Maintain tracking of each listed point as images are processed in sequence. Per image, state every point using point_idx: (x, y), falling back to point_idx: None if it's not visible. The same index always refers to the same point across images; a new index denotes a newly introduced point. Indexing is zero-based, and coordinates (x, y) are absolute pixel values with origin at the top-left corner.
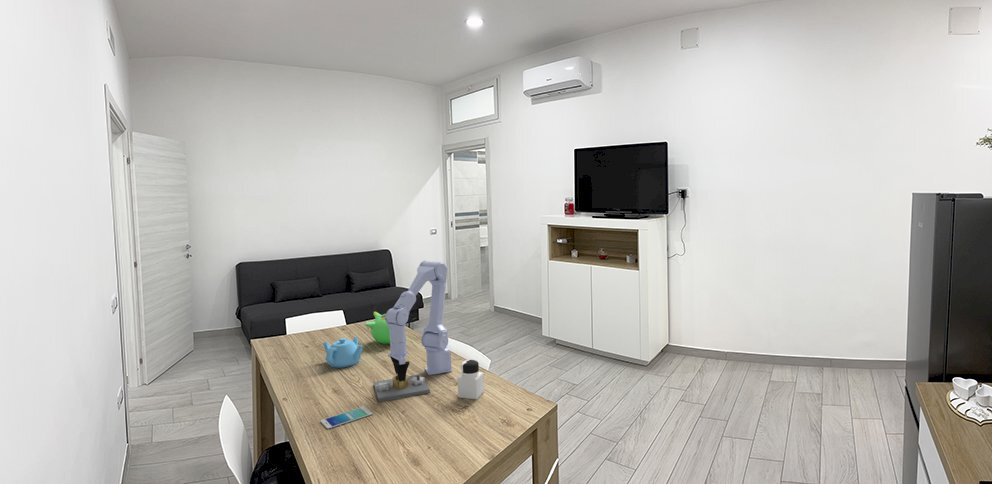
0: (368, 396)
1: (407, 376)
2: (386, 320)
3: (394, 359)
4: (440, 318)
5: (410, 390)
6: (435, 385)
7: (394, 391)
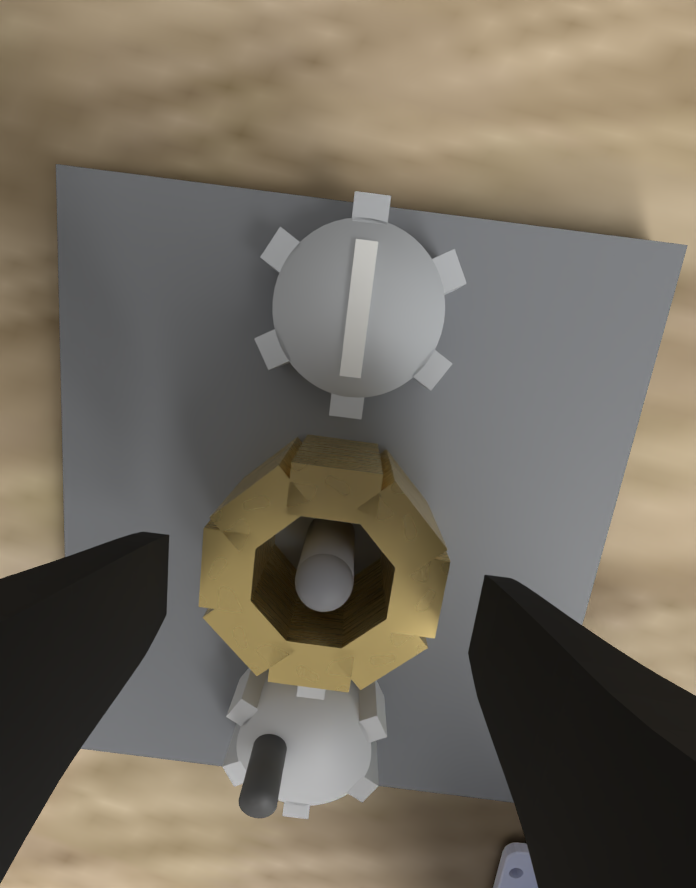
0: (322, 93)
1: (310, 683)
2: None
3: (678, 864)
4: None
5: None
6: (232, 803)
7: (190, 416)
